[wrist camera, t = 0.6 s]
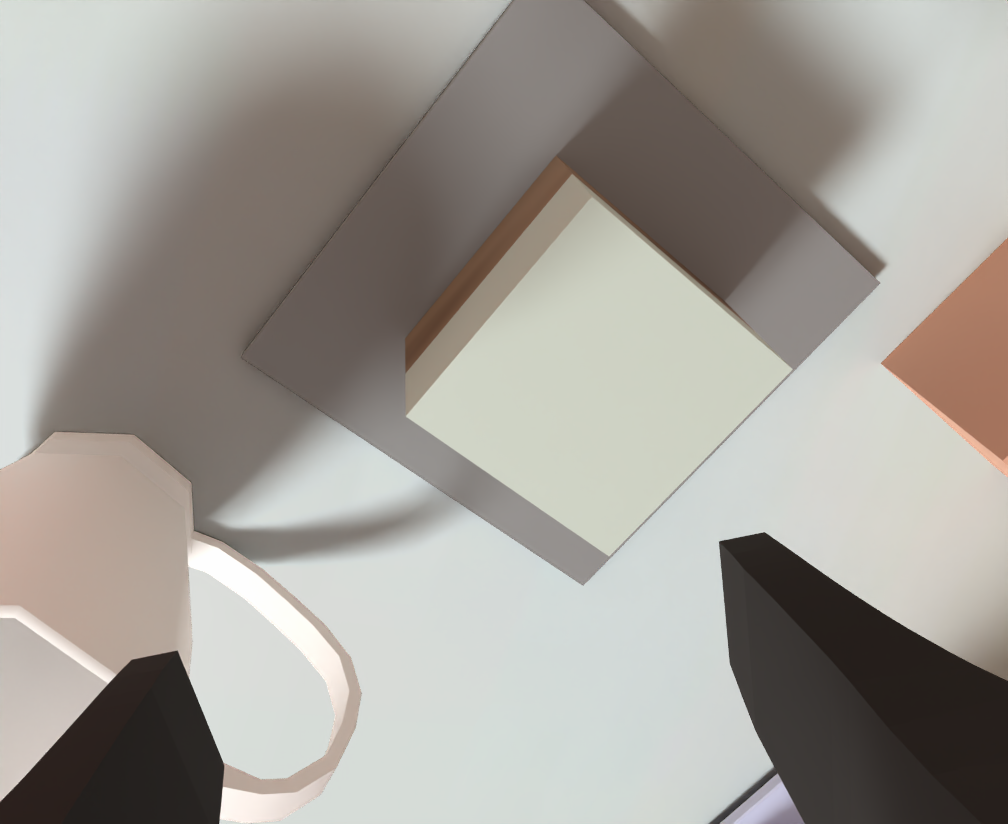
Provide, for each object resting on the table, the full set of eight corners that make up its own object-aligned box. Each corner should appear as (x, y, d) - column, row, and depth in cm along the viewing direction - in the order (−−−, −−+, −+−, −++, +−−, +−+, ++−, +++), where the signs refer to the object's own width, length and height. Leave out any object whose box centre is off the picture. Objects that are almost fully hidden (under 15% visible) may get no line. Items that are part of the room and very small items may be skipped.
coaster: (874, 278, 21) (880, 283, 21) (580, 578, 24) (583, 585, 24) (541, -38, 18) (544, -38, 18) (242, 352, 20) (241, 357, 20)
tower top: (755, 331, 19) (792, 369, 17) (590, 505, 20) (609, 556, 18) (572, 173, 17) (592, 196, 15) (405, 374, 19) (405, 416, 17)
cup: (-11, 319, 20) (-257, 520, 12) (421, 492, 22) (431, 741, 15) (-96, 577, 22) (-345, 875, 15) (306, 705, 25) (265, 1010, 17)
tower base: (724, 301, 21) (755, 331, 19) (575, 461, 22) (590, 505, 20) (556, 155, 19) (572, 173, 17) (405, 338, 20) (405, 373, 19)
